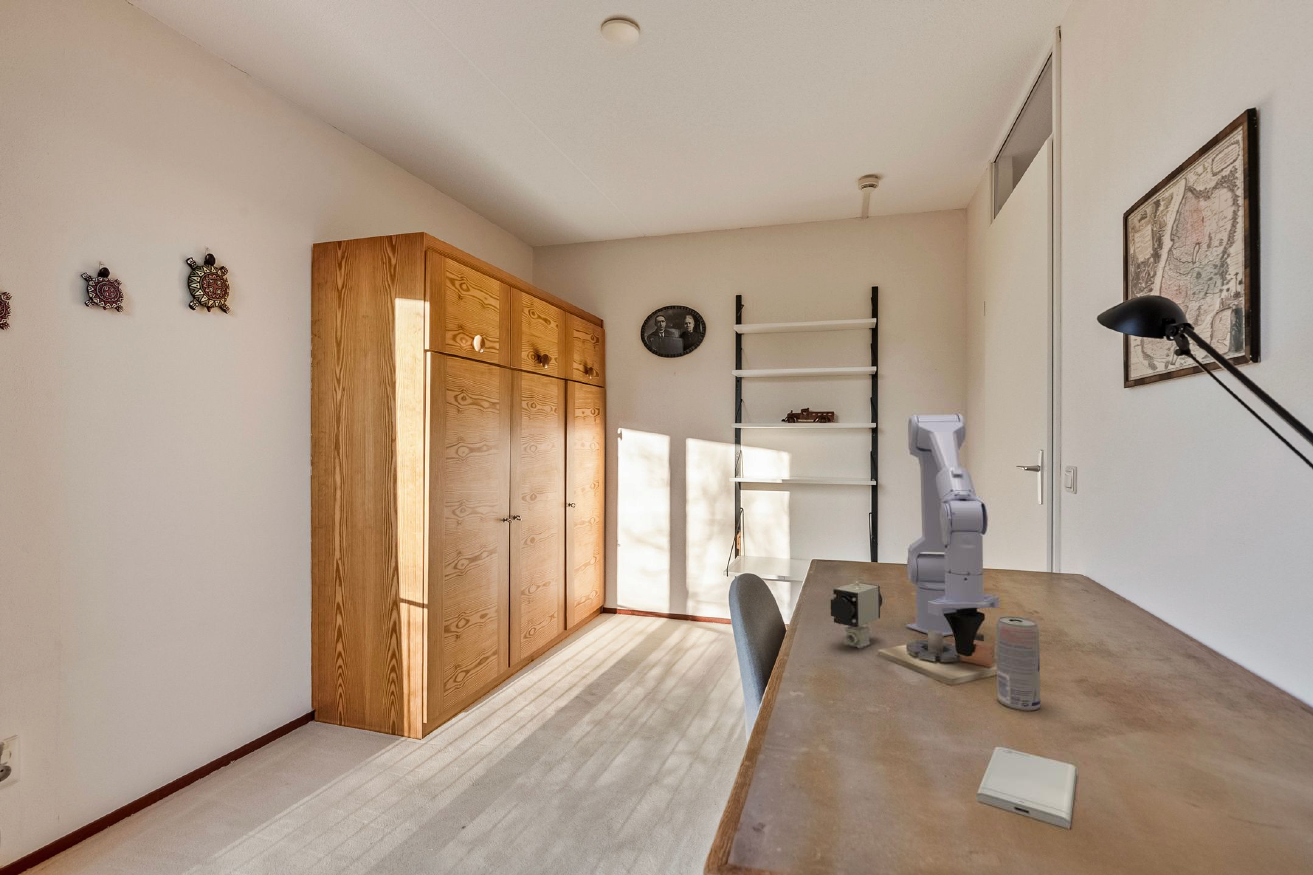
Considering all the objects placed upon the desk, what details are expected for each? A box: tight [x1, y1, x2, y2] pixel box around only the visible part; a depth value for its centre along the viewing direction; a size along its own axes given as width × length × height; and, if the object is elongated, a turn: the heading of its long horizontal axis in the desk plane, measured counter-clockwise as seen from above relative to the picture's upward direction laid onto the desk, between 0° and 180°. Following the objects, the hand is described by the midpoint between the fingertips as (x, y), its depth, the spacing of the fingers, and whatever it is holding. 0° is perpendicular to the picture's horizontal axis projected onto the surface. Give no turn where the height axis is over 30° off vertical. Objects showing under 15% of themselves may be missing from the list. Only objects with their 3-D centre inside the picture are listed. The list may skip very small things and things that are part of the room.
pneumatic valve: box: [829, 580, 883, 650], centre depth 117 cm, size 6×12×12 cm, turn 133°
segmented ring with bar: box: [905, 639, 995, 667], centre depth 106 cm, size 14×9×3 cm, turn 48°
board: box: [876, 630, 997, 686], centre depth 107 cm, size 15×16×5 cm
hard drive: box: [976, 746, 1077, 830], centre depth 68 cm, size 2×8×12 cm
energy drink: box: [995, 615, 1041, 712], centre depth 90 cm, size 5×5×12 cm
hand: (964, 654), depth 103 cm, fingers closed, pressing on segmented ring with bar
